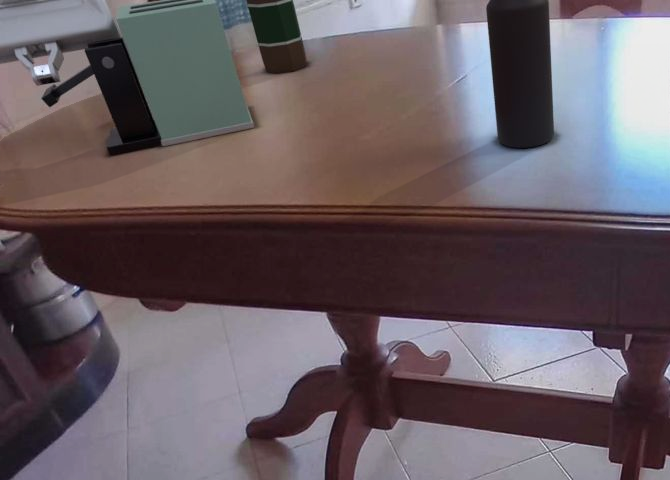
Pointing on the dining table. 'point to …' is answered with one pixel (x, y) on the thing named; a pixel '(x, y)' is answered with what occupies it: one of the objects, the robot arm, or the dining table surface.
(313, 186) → the dining table surface
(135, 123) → the lever bracket
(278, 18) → the beer bottle
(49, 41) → the robot arm
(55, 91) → the toaster lever
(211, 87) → the toaster
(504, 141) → the vinegar
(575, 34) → the dining table surface
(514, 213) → the dining table surface
